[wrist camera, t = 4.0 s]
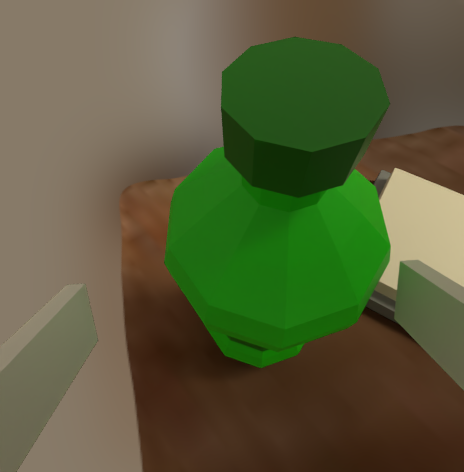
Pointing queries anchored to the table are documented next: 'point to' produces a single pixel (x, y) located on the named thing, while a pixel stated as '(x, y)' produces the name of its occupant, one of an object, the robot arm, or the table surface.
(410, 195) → the stepped plinth
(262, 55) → the plastic bottle
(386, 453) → the table surface
